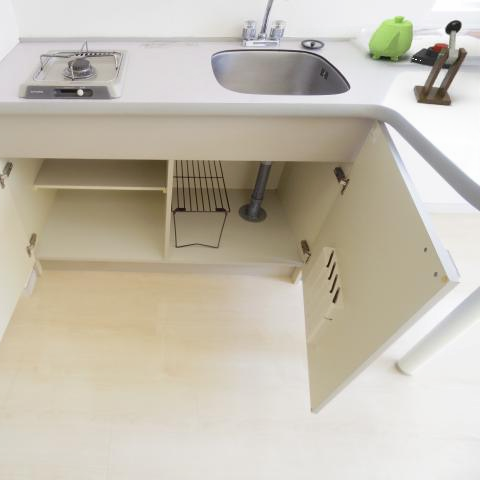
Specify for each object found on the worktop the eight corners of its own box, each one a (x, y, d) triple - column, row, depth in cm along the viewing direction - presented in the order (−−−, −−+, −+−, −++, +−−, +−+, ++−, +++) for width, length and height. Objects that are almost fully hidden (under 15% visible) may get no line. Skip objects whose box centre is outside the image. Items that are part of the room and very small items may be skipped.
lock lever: (442, 28, 100) (449, 16, 97) (457, 29, 99) (465, 17, 96) (439, 65, 96) (446, 54, 93) (454, 66, 95) (462, 55, 92)
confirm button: (447, 50, 119) (450, 44, 118) (443, 53, 117) (446, 47, 116) (434, 48, 121) (437, 42, 120) (430, 50, 119) (433, 45, 118)
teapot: (406, 67, 119) (424, 25, 110) (364, 63, 124) (378, 22, 115) (404, 49, 132) (420, 10, 123) (366, 46, 136) (378, 8, 127)
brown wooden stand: (413, 89, 106) (434, 43, 97) (443, 91, 104) (468, 44, 95) (417, 102, 100) (440, 54, 91) (449, 105, 97) (477, 56, 88)
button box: (457, 61, 121) (464, 48, 118) (448, 69, 116) (455, 56, 113) (420, 54, 127) (425, 42, 124) (410, 61, 122) (415, 49, 120)
